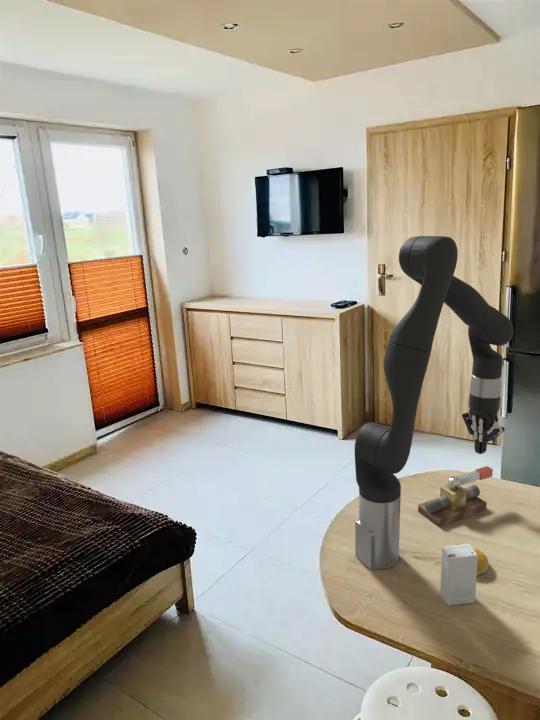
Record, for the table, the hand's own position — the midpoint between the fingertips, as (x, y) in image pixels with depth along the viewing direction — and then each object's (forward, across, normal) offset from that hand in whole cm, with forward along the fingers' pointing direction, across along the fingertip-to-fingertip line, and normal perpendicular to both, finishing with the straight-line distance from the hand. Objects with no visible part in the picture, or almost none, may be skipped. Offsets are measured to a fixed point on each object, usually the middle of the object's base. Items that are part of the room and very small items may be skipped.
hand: (480, 452), depth 149 cm
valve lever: (+7, +2, -5) cm, 8 cm away
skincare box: (+15, +26, -32) cm, 44 cm away
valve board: (+14, +1, -10) cm, 17 cm away
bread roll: (+15, +19, -22) cm, 33 cm away
